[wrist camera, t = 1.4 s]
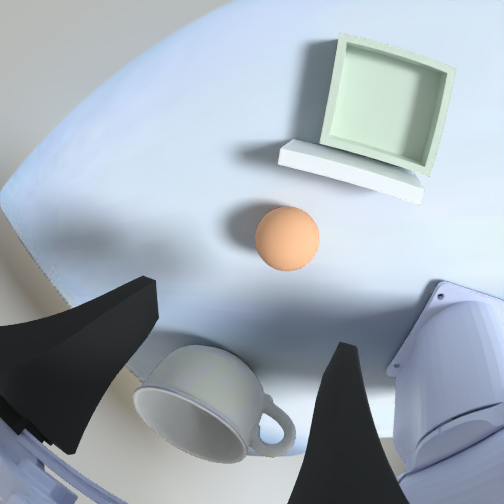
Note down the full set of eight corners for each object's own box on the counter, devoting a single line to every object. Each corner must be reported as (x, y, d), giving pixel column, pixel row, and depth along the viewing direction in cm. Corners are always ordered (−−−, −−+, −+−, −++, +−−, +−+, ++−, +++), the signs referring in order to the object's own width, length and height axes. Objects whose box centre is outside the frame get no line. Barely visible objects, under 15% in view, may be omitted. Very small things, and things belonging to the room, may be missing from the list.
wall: (410, 186, 15) (419, 205, 13) (291, 152, 17) (277, 164, 14) (414, 173, 15) (425, 190, 12) (293, 138, 16) (280, 148, 14)
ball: (315, 258, 19) (305, 291, 17) (261, 242, 20) (242, 272, 17) (329, 207, 18) (322, 233, 15) (270, 191, 18) (250, 213, 15)
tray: (423, 169, 15) (429, 177, 13) (322, 138, 16) (319, 143, 14) (446, 70, 11) (455, 68, 10) (341, 38, 13) (339, 32, 11)
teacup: (174, 377, 33) (140, 431, 26) (169, 309, 27) (118, 373, 20) (292, 420, 30) (271, 484, 23) (323, 362, 24) (301, 447, 17)
